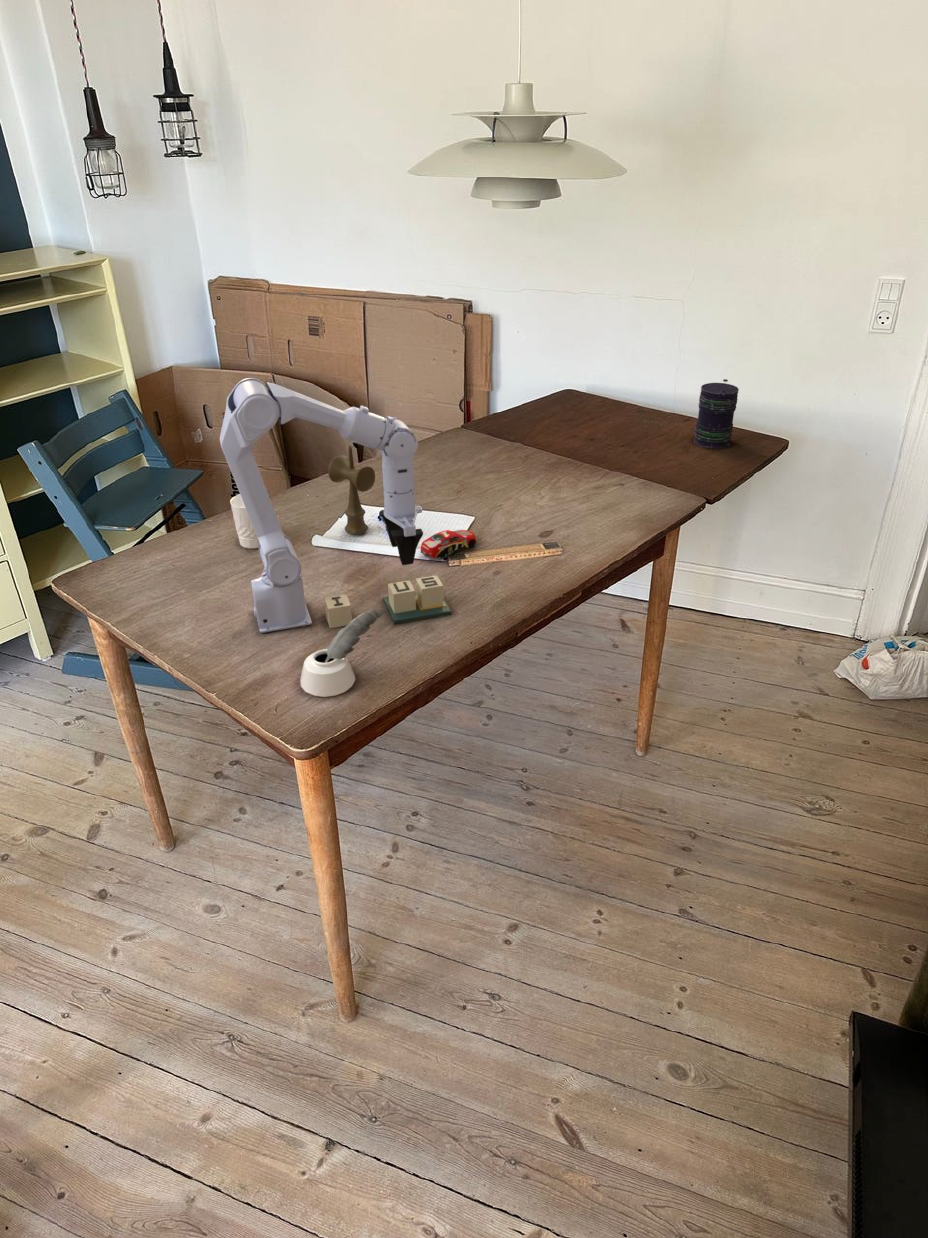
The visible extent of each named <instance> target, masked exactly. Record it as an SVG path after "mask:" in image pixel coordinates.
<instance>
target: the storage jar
mask: <svg viewBox="0 0 928 1238" xmlns="http://www.w3.org/2000/svg"><path fill="white" fill-rule="evenodd" d="M728 381H729V379H728V378H727V379H726V378H724V379H723V380H722V382H709V383H704V384H702V385H701V387H700V392H699V393H700V394H699V399H698V401H699V402H698V415H697V416H698V417H697V420H696V423H695V427H694V438H693V442H694V444H696V445H697V446H699V447H702V448H707V449H723V448H727V447H729V446H730V445H731V439H732V436H733V431H734V430H733V428H734V423H733V422H734V416H735V411H736V410H737V405H738V396H739V390H740V389H739V387H738V386H736V385H734V384H731V383H727V382H728Z"/></svg>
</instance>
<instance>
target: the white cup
mask: <svg viewBox="0 0 928 1238" xmlns="http://www.w3.org/2000/svg"><path fill="white" fill-rule="evenodd" d="M229 504H230V506H231V513H232V516H233V517H232V518H233V522H234V526H235V531H236V533H237V536H238V542H239V546H241V547H243V548H245V549H259V540H258V537H257V535H256V532H255V530H254V527H253V525H252V522H251V520H250V517H249V515H248V512H247V510H246V507H245V505H244V502H243V500H242V497H241V495H240V493H239V494H237V495H235V496H233V497H231V499H230V501H229Z"/></svg>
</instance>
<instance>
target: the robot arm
mask: <svg viewBox="0 0 928 1238" xmlns="http://www.w3.org/2000/svg"><path fill="white" fill-rule="evenodd" d="M225 405H226V406H225V411H224V416H223V420H222V425H221V430H220V434H219V443H220V448H221V450H222V452H223V455H224V458H225V460H226V463H227V465H228V467H229V470H230V473H231V475H232V478H233V480H234V482H235V485H236V487H237V490H238V492H239V494H240V495H241V497H242V500H243V502H244V505H245V507H246V510H247V512H248V515H249V517H250V520H251V522H252V525H253V527H254V530H255V532H256V535H257V537H258V540H259V548H258V554H259V557H260V558H261V561H262V564H263V566H264V567H263V570H262V573H261V576H259V577H258V578H257V577H256V578H254V579H251V580H250V586H251V591H252V599H253V604H254V607H253V614H254V618H256V622H257V625H258V630H259V632H260V634H265V633H271V632H276V631H282V630H288V629H294V628H299V627H300V628H301V627H305V626H311V625H312V624H313V621H312V619H311V615H310V612H309V609H308V606H307V603H306V598H305V589H304V580H303V571H302V569H303V568H302V567H303V566H302V563H301V561H300V559H299V558H298V555H297V553H296V551H295V549H294V548H295V547H294V544H293V542H292V540H291V539H290V537H288V536H287V535H286V534H285V533H284V532H283V528H282V526H281V524H280V521H279V519H278V516H277V513H276V511H275V508H274V505H273V503H272V500H271V498H270V495H269V493H268V490H267V487H266V484H265V482H264V480H263V477H262V474H261V472H260V469H259V467H258V466H259V465H258V464H257V461H256V458H255V455H254V454H253V448H254V446H255V445H256V443H257V441H258V440H259V439H260V438H261V437H262V436H264V435H265V434H266V433H267V432H268V431H270V430H271V429H272V428H273V427H274V426H275V425H276V424H277V422H278V421H279V424H280V425H284V424H286V423H288V422H290V421H292V420H293V419H300V420H303V421H307V422H310V423H314V424H318V425H320V426H325V427H328V428H332V429H335V430H338V431H339V434H340V436H341V438H342V439H343V440H346V441H349V442H352V443H354V444H357V445H360V446H364V447H366V448H370V449H372V450H375V451H381V458H382V464H381V469H382V485H383V503H384V504H383V505H384V506H383V507H384V508H383V509H381V510H380V511H379V515H380V517H381V518H382V519H383V522H384V524H385V527H386V529H387V530H386V531H387V534H388V538H389V542H390V546H391V547H392V548H396V547H397V552H398V556H399V561H400V563H401V565H402V566H407V565H413V564H414V562H415V557H416V552H417V548H418V545H419V543H420V541H421V539H422V538H423V536H424V531H423V529H422V528H416V520H417V515H418V514H421V513H423V508H422V506H421V505H419V504H418V505H417V504H416V477H415V476H416V475H415V461H414V456H415V455H416V453H417V451H418V449H419V442H417V438H416V435H415V434H414V432H413V431H412V430H411V429H410V427H408V426H407V424H406V423H405V422H404V421H402V420H400V419H399V418H398V417H393V416H389V415H386V417H384V416H382V415H379V414H376V413H373V412H370V409H369V408H368V407H367V406H364V405H360V406H359V407H356V406H350V407H348V408H346V409H344V410H342V409H339V408H338V407H335V406H332V405H330V404H328V403H324V402H322V401H320V400H317V399H316V398H315V399H314V398H313V397H310V396H307V395H305V394H302V393H300V392H297V391H294V390H292V389H290V388H287V387H285V386H282V385H280V384H277V383H273V382H269V381H267V382H266V383H265V382H264V381H262V380H261V379H257V378H254V377H247V378H244V379H242V380H239V382H237V384H236V385H234V387H233V389H232V390H231V391H230V393H229V395H228V396H227V397H226V404H225Z"/></svg>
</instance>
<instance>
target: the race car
mask: <svg viewBox="0 0 928 1238" xmlns="http://www.w3.org/2000/svg"><path fill="white" fill-rule="evenodd" d="M476 544H477V536H476V534H475V533H474V532H473V531H471V530H468V529H457V530H449V529H445V530H442V531H439V532H437V533H435V534H433V535H431V536H429V537H428V538H426V539H424V540H423V541H422V542H421V544H420V554H422V555H424V556H426V557H427V558H430V559H445V558H446V556H449V555H452V554H454V553H457V552H460V551H462V550H466V549H468V548H469V549H473V548H474V547H475V546H476Z"/></svg>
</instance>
